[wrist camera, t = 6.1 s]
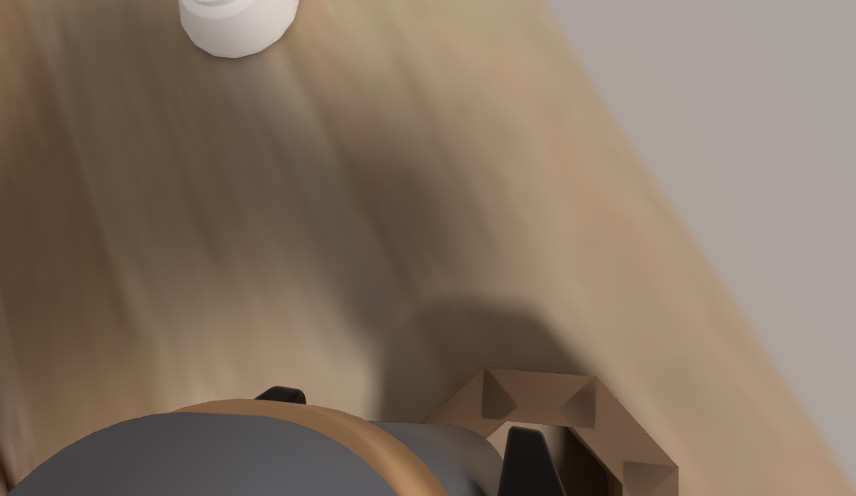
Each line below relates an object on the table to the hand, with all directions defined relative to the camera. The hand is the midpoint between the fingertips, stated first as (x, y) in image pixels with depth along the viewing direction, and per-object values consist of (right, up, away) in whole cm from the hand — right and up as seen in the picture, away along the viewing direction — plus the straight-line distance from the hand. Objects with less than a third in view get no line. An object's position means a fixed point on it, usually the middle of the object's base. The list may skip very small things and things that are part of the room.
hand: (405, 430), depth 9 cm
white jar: (-7, +12, +19) cm, 24 cm away
